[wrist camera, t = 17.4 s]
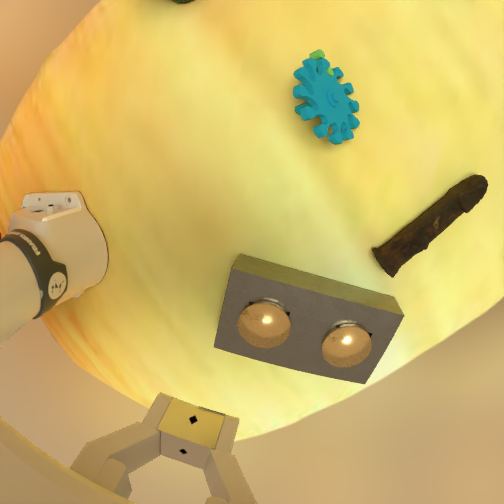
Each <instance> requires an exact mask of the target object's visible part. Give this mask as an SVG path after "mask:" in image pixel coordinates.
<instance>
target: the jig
mask: <svg viewBox="0 0 504 504" xmlns="http://www.w3.org/2000/svg"><path fill="white" fill-rule="evenodd" d="M403 317H404V314H403V312H402V310H401V309H400V307H399V305H398V303H397V301H396V300H395V298H394V297H392V296H388V295H384V294H381V293H377V292H374V291H370V290H367V289H363V288H359V287H356V286H352V285H349V284H345V283H342V282H338V281H335V280H331V279H327V278H324V277H320V276H317V275H313V274H310V273H306V272H303V271H299V270H296V269H292V268H289V267H285V266H282V265H278V264H275V263H271V262H267V261H264V260H260V259H257V258H253V257H250V256H246V255H243V254H239V256H238V258H237V260H236V261H235V263H234V265H233V266H232V268H231V273H230V277H229V281H228V285H227V290H226V294H225V298H224V303H223V307H222V312H221V316H220V320H219V325H218V329H217V334H216V338H215V343H214V347H215V348H218V349H221V350H225V351H228V352H231V353H234V354H238V355H241V356H245V357H248V358H252V359H255V360H259V361H263V362H266V363H270V364H274V365H278V366H282V367H286V368H290V369H294V370H298V371H302V372H307V373H311V374H316V375H320V376H325V377H330V378H335V379H340V380H345V381H350V382H355V383H361V384H365V383H366V382H367V380H368V378H369V377H370V375H371V374H372V372H373V370H374V369H375V367H376V366H377V364H378V362H379V361H380V359H381V357H382V355H383V354H384V352H385V350H386V349H387V347H388V345H389V343H390V341H391V340H392V338H393V336H394V334H395V332H396V330H397V329H398V327H399V325H400V323H401V321H402V319H403ZM344 324H355V325H359V326H361V327H363V328H364V329H365V330H367V332H368V333H369V335H370V338H371V342H372V347H371V351H370V353H369V355H368V356H367V357H366V358H365V359H364V360H363V361H362V362H360V363H359V364H357V365H354V366H351V367H336V366H333V365H331V364H329V363H328V362H327V361H326V360H325V359H324V357H323V354H322V342H323V339H324V337H325V336H326V335H327V333H328V332H329V331H331V330H332V329H334V328H335V327H336V326H337V325H344Z"/></svg>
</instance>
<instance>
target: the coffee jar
mask: <svg viewBox="0 0 504 504" xmlns="http://www.w3.org/2000/svg"><path fill="white" fill-rule="evenodd" d="M172 1H175V2H187V1H190V0H172Z"/></svg>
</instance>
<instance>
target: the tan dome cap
mask: <svg viewBox="0 0 504 504" xmlns="http://www.w3.org/2000/svg"><path fill="white" fill-rule="evenodd" d="M371 347H372V342H371V338H370V335H369V333H368V332H367V330H365V329H364V328H363V327H361V326H359V325H355V324H344V325H337V326H336V327H335V328H334V329H332V330H331V331H329V332H328V333H327V335H326V336H325V337H324V339H323V342H322V354H323V357H324V359H325V360H326V361H327V362H328V363H329V364H331V365H333V366H336V367H351V366H354V365H357V364H359V363H360V362H362V361H363V360H364V359H365V358H366V357H367V356H368V355H369V353H370V351H371Z"/></svg>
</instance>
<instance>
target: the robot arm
mask: <svg viewBox="0 0 504 504" xmlns="http://www.w3.org/2000/svg"><path fill="white" fill-rule="evenodd" d="M70 198H71V200H70ZM107 263H108V253H107V246H106V242H105V239H104V236H103V233H102V231H101V229H100V227H99V225H98V224H97V222H96V221H95V219H94V218H93V217H92V215H91V214H90V213H89V211H88V210H87V208H86V205H85V202H84V199H83V197H82V195H81V194H80V193H79V192H77V191H73V192H43V193H29V194H27V195H25V197H24V199H23V202H22V206H21V209H20V210H18V211H15V212H14V213H13V214H12V215H11V217H10V220H9V225H8V234H7V235H6V236H5V237H3V238H2V239H1V233H0V348H1V347H2V345H3V344H4V343H5V342H6V341H7V340H8V339H9V338H10V337H11V336H12V335H13V334H14V333H15V332H17V331H18V330H19V329H20V328H21V327H22V326H23V325H25V324H26V323H27V322H28V321H30V320H31V319H36V318H38V317H40V316H41V315H44V314H45V313H46V312H47V311H48V310H50V309H51V308H53V307H55V306H57V305H59V304H60V303H62V302H64V301H66V300H68V299H69V298H71V297H75V298H77V297H79V296H81V295H82V294H83V293H84V291H85V290H86V289H87V288H90V287H93V286H95V285H97V284H98V283H99V282H100V281H101V280H102V278H103V277H104V275H105V272H106V269H107ZM238 424H239V418H236V417H232V416H229V415H225V414H223V413H219V412H216V411H213V410H209V409H206V408H203V407H200V406H199V407H198V406H195V405H192V404H190V403H187V402H184V401H182V400H179V399H177V398H174V397H172V396H169V395H166V394H164V393H161V392H160V393H159V394H158V396H157V397H156V399H155V401H154V403H153V404H152V406H151V408H150V410H149V411H148V413H147V415H146V417H145V418H144V420H143V422H142V423H140V422H136V423H134V424H132V425H130V426H127V427H125V428H123V429H121V430H118V431H116V432H113V433H111V434H108V435H106V436H103V437H101V438H98V439H96V440H93V441H91V442H88V443H86V445H85V446H84V447H83V449H82V450H81V452H80V454H79V455H78V456H77V458H76V459H75V461H74V462H73V464H72V465H71V467H70V468H68V467H67V466H65V465H63V464H62V463H60V462H59V461H57V460H56V459H54V458H53V457H51V456H50V455H48V454H47V453H46V452H44V451H43V450H41V449H40V448H39V447H37V446H36V445H35V444H33V443H32V442H30V441H29V440H28V439H27V438H25V437H24V436H23V435H22V434H20V433H19V432H18V431H17V430H16V429H14V428H13V427H12V426H11V425H10V424H8V423H7V422H6V421H5V420H4V419H3V418H2V417H0V504H137V503H135V502H133V501H130V500H128V498H129V496H130V494H131V491H132V488H131V484H130V481H129V477H128V474H129V473H131V472H133V471H134V470H136V469H138V468H140V467H141V466H143V465H145V464H146V463H148V462H150V461H151V460H153V459H155V458H156V457H158V456H160V455H163V456H166V457H169V458H172V459H175V460H178V461H181V462H184V463H186V464H189V465H192V466H195V467H198V468H201V469H204V474H205V477H206V480H207V483H208V486H209V489H210V492H211V495H212V496H211V497H209V498H207V501H206V503H205V504H257V502H256V500H255V498H254V496H253V494H252V492H251V490H250V488H249V486H248V483H247V481H246V479H245V477H244V475H243V473H242V471H241V469H240V466H239V464H238V462H237V460H236V457H235V455H232V454H231V450H232V447H233V443H234V439H235V435H236V432H237V428H238Z"/></svg>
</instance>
